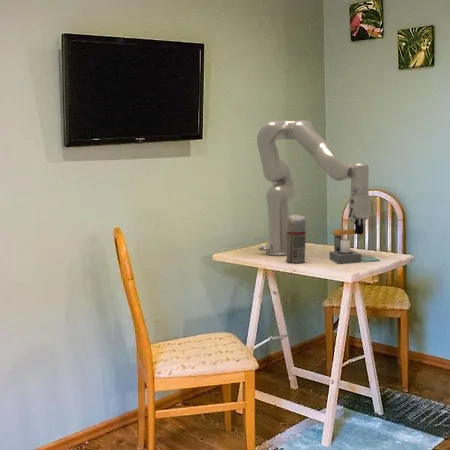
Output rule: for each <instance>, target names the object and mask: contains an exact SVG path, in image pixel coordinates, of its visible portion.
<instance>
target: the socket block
mask: <svg viewBox="0 0 450 450" xmlns="http://www.w3.org/2000/svg"><path fill="white" fill-rule="evenodd" d="M350 250H351V253H350V254H340V253H339V251H334V250H332V251H329V260H330V261H332V262H334V263H336V264H338V265H344V264H353V263H354V264H355V263H362V261H361V257H362V254H361V253H359V252H357V251H354V250H352V249H350Z"/></svg>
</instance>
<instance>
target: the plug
mask: <svg viewBox="0 0 450 450" xmlns="http://www.w3.org/2000/svg"><path fill="white" fill-rule="evenodd" d="M351 250H352V249H351V240H350V239H349V238H348V239H346V238H344V239H342V238H341V246H340V251H339V253H340V254H350V253H351Z"/></svg>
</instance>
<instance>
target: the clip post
mask: <svg viewBox="0 0 450 450" xmlns="http://www.w3.org/2000/svg"><path fill="white" fill-rule="evenodd" d="M333 237H334V239H333V241H334V242H333V243H334V244H333V247H334V248H333V251H340V246H341V240H342V235H340V236H335V235H333Z"/></svg>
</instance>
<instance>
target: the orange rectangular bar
mask: <svg viewBox="0 0 450 450" xmlns="http://www.w3.org/2000/svg"><path fill="white" fill-rule="evenodd" d="M365 232H366V231H365V228H363V234H359V235H360V236H361V237H365V234H366V233H365ZM345 235H346V236H347V235H356V234H355V228H354V229H333V236H345Z"/></svg>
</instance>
